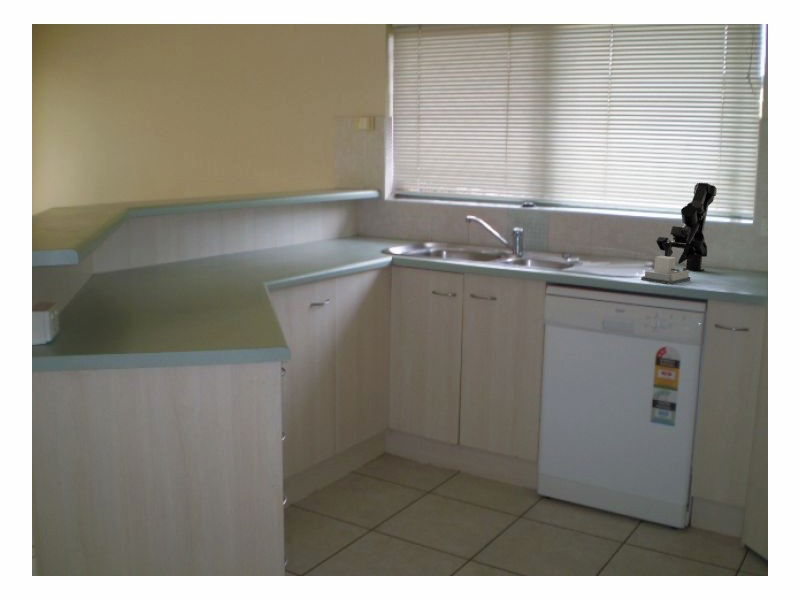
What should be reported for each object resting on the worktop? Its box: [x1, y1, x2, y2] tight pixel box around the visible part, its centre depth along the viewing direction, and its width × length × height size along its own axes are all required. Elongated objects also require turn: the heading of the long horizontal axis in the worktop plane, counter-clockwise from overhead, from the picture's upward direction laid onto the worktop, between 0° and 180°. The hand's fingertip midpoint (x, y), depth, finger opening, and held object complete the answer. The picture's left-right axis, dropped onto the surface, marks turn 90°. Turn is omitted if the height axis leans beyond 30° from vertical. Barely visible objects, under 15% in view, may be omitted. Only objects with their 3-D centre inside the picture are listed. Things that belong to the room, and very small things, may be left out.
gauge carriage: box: [653, 255, 680, 274], centre depth 346 cm, size 5×9×8 cm, turn 45°
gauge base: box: [640, 269, 691, 285], centre depth 349 cm, size 14×13×4 cm
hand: (671, 262), depth 350 cm, fingers open, 6 cm apart
